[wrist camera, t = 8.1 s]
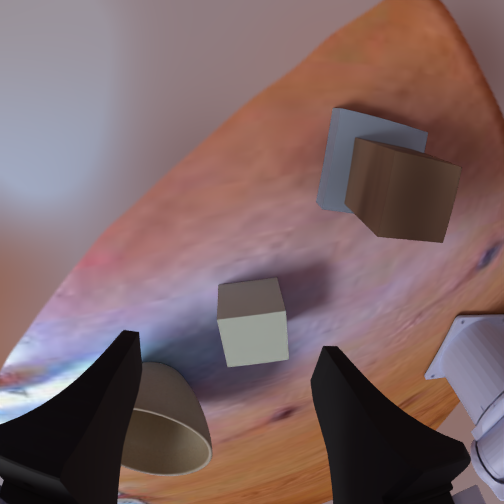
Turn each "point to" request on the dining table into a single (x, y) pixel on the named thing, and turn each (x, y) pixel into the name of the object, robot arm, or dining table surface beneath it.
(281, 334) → the sage block
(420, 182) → the walnut block
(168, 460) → the flower pot
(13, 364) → the dining table surface
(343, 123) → the slate slab
